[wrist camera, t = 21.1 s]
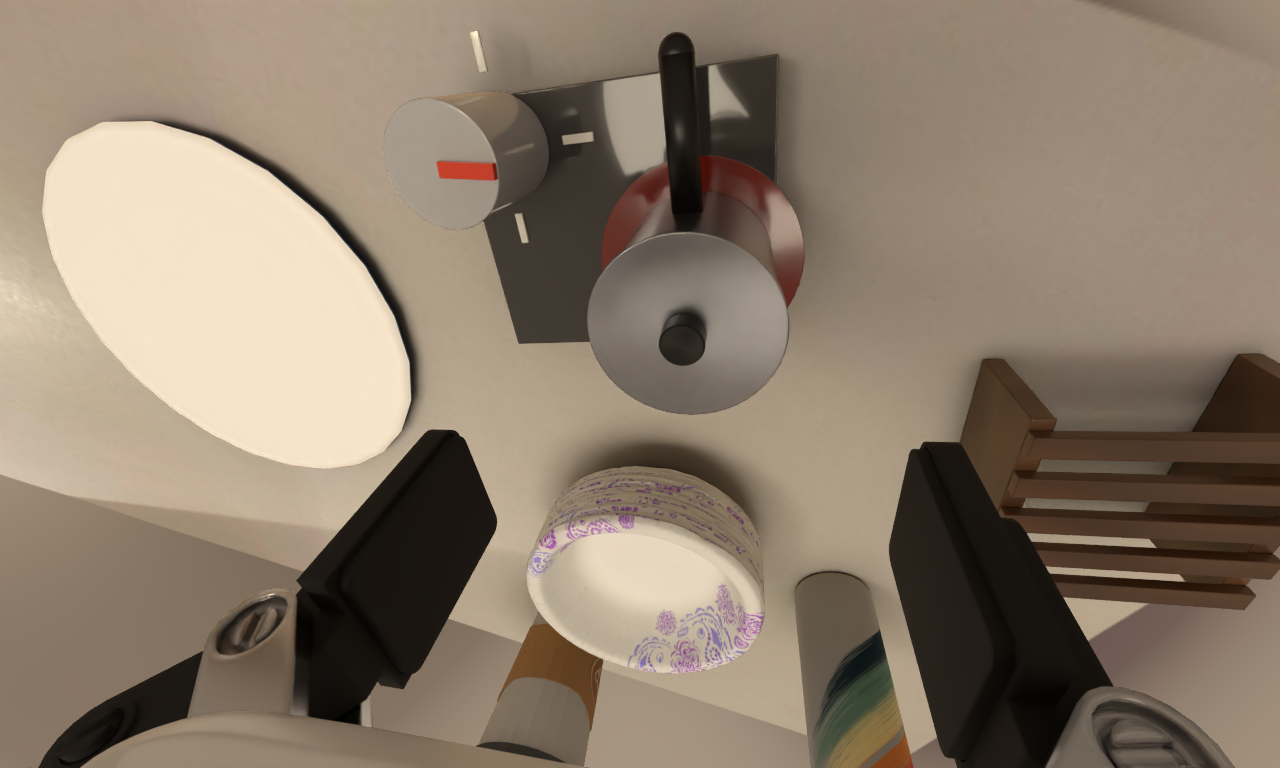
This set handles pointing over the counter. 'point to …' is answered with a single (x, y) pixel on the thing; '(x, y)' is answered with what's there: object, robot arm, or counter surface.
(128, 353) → the plate
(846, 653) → the lotion bottle
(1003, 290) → the counter surface
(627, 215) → the burner ring
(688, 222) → the saucepan
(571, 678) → the coffee cup
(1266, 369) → the drying rack
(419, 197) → the hob knob
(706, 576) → the paper bowls
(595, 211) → the hob
